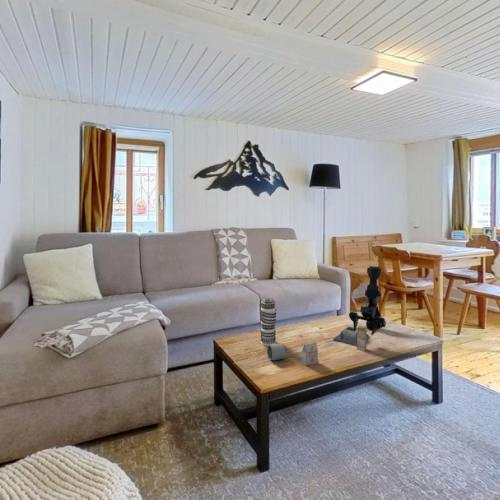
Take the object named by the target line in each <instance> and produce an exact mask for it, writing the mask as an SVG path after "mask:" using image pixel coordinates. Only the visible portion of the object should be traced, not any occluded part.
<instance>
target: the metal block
mask: <svg viewBox="0 0 500 500" xmlns="http://www.w3.org/2000/svg"><path fill="white" fill-rule="evenodd" d="M357 328H358V334H357V346H356V350H358V351H362V352H365V351H366V349H367V338H368V337H367V332H368V329H367V326H366V325H362V324H360V325H357ZM366 337H367V338H366Z"/></svg>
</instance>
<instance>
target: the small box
mask: <svg viewBox="0 0 500 500" xmlns="http://www.w3.org/2000/svg"><path fill="white" fill-rule="evenodd" d="M318 363H319V351H318V346H317V341H315V342H310V343H305V344H303V347H302V350H301V364H303V365H304V366H306V367H307V366H312V365H316V364H318Z"/></svg>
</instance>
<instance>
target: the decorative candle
mask: <svg viewBox="0 0 500 500" xmlns="http://www.w3.org/2000/svg"><path fill="white" fill-rule="evenodd" d="M260 303H261V305H260V307H261V308H260V309H259V315H260V324H261V327H260V343H261V345H263V346H267V347H268V345H271V344H277V342H276V341H277V339H276V338H277V337H276V332H277V331H276V323H277V322H276V321H277V312H276V311H277V309H276V303H277V302H276V301H275V300H274V299H273V298H269V297H266V298H263V299H262V301H260Z"/></svg>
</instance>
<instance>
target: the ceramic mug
mask: <svg viewBox="0 0 500 500" xmlns="http://www.w3.org/2000/svg"><path fill="white" fill-rule="evenodd" d="M266 353H267V358H268V360H269V361H277V360H283V359H285V358H287V355H288V354H287V347H286V345H285V344H284V343H282V344H281V343H275V344H271V345H268V346H267V347H266Z"/></svg>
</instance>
